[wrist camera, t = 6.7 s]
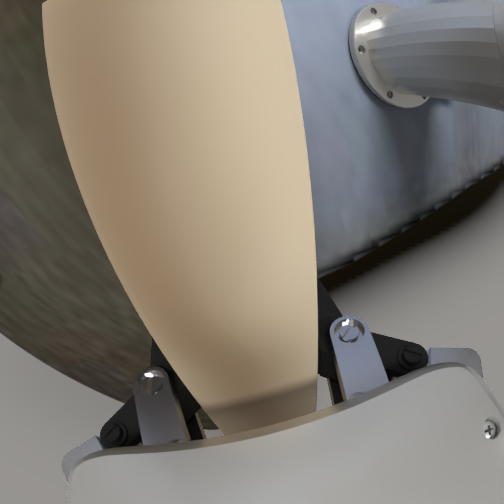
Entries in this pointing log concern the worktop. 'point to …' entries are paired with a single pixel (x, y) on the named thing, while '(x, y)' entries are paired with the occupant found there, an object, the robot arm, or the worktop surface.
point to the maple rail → (198, 188)
